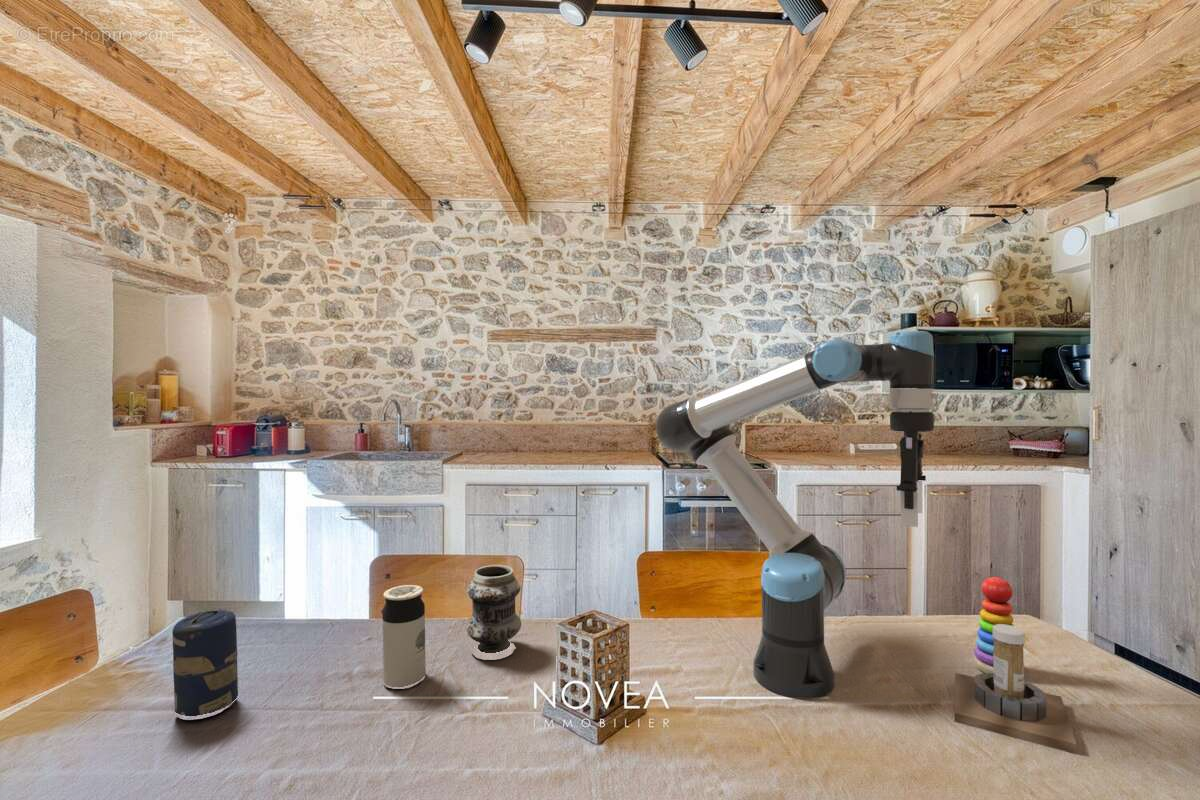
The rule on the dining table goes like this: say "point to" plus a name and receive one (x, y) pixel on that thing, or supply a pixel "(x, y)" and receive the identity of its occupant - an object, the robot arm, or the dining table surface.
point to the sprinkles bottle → (1008, 660)
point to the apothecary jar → (493, 607)
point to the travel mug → (403, 636)
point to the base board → (1043, 732)
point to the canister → (205, 662)
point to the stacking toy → (992, 620)
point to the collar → (1010, 700)
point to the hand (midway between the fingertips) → (912, 519)
